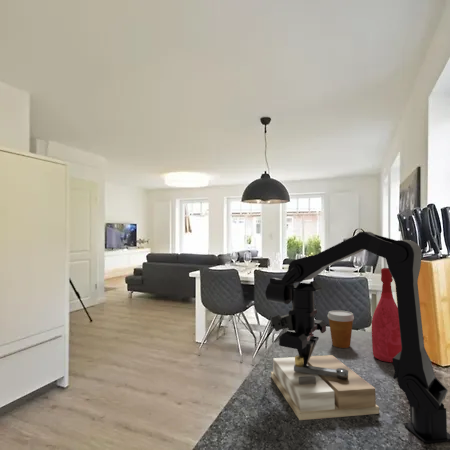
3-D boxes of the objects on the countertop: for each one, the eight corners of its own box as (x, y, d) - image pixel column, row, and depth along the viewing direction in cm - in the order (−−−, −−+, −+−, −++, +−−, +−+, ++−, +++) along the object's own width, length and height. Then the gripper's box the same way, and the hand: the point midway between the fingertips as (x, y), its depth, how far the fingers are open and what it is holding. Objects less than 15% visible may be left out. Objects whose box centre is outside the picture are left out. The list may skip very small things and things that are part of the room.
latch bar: (348, 375, 83) (348, 361, 83) (348, 380, 80) (347, 365, 80) (295, 368, 88) (295, 354, 88) (293, 372, 85) (293, 358, 85)
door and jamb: (379, 413, 76) (378, 382, 76) (299, 420, 74) (299, 388, 74) (333, 373, 99) (332, 349, 99) (271, 377, 96) (270, 352, 97)
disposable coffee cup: (322, 343, 126) (321, 311, 127) (341, 340, 130) (340, 309, 131) (340, 351, 118) (340, 317, 118) (360, 347, 122) (359, 314, 122)
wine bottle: (386, 365, 104) (384, 269, 106) (365, 354, 114) (364, 267, 115) (412, 362, 107) (409, 268, 108) (389, 352, 116) (387, 266, 118)
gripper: (289, 297, 101) (290, 349, 100) (259, 309, 86) (260, 370, 85) (325, 301, 94) (327, 356, 94) (300, 315, 79) (302, 381, 79)
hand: (304, 365), depth 88 cm, fingers closed
